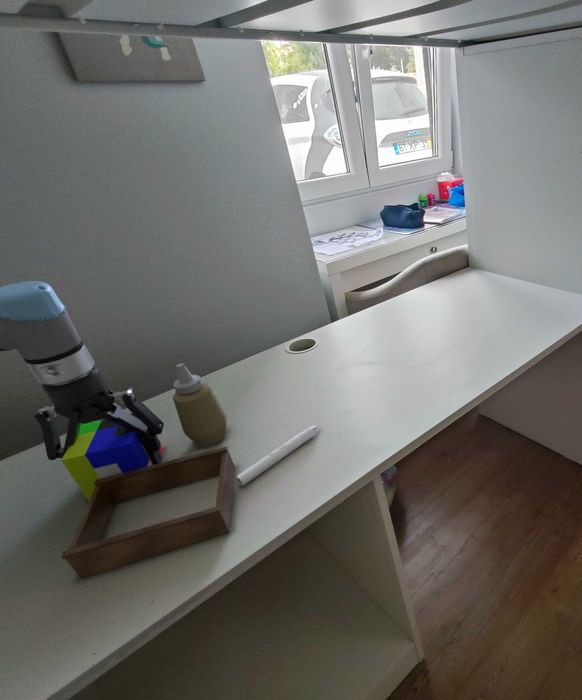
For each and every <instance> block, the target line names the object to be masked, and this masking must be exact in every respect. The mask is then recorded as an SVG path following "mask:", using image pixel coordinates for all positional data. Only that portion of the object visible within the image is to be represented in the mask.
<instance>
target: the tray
mask: <svg viewBox="0 0 582 700" xmlns="http://www.w3.org/2000/svg"><path fill="white" fill-rule="evenodd" d="M216 476H219V477H218V484H217V493H216V499H215V500H216V501H215V506H214V507H211V508H207V509H203V510H200V511H196V512H193V513H190V514H189V513H188V514H186V515H183V516H180V517H176V518H173V519H169V520H166V521H163V522H159V523H156V524H152V525H148V526H145V527H142V528H139V529H135V530H132V531H128V532H125V533H121V534H118V535H114V536H112V537H107V538H104V539H102V537H103V534H104V532H105V529H106V527H107V523H108V521H109V518H110V516H111V513H112V510H113V507H114V505H115V504H117V503H120V502H124V501H128V500H132V499H135V498H139V497H143V496H146V495H150V494H154V493H158V492H161V491H164V490H168V489H172V488H176V487H180V486H183V485H187V484H191V483H194V482H198V481H201V480H204V479H209V478H212V477H216ZM235 479H236V466H235V464H234V462H233V458H232V456H231V454H230V452H229V447H228V446H227V445H225V446H221V447H217V448H214V449H210V450H206V451H202V452H198V453H194V454H190V455H186V456H183V457H178V458H175V459H171V460H167V461H163V462H161V463H159V464H155V465H151V466H147V467H143V468H140V469H136V470H132V471H128V472H124V473H120V474H116V475H112V476H108V477H105V478H101V479H97V480H95V482H94V485H95V486H96V487H95V489H94V491H93V494H92V496H91V498H90V500H88V503H87V505H86V507H85V509H84V512H83V515H82V516H81V519H80V521H79V523H78V526H77V527H76V530H75V532H74V535H73V537H72V539H71V542H70V544H69V547H68V548H67V549H66V550H64V551H63V552H62V555H61V557H60V558H62V560H65V561H66V562H67V563H68V565H69V566H70V568H72V570H73V571H74V572H75V573H76V574H77V576H78V577H79V578H80V579H83V578H87V577H91V576H94V575H96V574H99V573H103V572H106V571H109V570H112V569H115V568H116V569H117V568H119V567H123V566H126V565H129V564H133V563H134V562H135V563H136V562H138V561H141V560H144V559H148V558H152V557H154V556H158V555H161V554H164V553H168V552H170V551H174V550H176V549H181V548H183V547H187V546H190V545H193V544H196V543H197V544H198V543H200V542H203V541H206V540H210V539H213V538H216V537H219V536H221V535H226V534H229V533H230V532H231V526H232V511H233V502H234V501H233V500H234V490H235V489H234V488H235Z"/></svg>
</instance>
